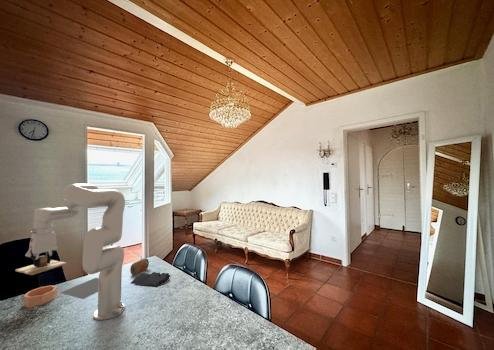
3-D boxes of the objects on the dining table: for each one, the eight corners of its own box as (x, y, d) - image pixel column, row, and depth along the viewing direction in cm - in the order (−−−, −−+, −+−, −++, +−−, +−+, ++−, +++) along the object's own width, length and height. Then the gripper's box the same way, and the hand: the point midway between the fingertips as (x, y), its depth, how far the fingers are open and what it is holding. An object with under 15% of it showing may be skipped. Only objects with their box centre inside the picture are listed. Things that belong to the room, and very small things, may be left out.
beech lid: (66, 264, 117) (67, 253, 117) (32, 275, 103) (32, 263, 103) (50, 260, 122) (50, 250, 122) (15, 271, 108) (15, 259, 108)
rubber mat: (117, 283, 131) (117, 282, 131) (83, 299, 112) (83, 298, 112) (95, 278, 138) (95, 277, 138) (59, 293, 119) (59, 292, 119)
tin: (132, 277, 139) (133, 264, 140) (129, 276, 140) (129, 264, 141) (149, 268, 154) (149, 256, 154) (145, 268, 155) (145, 256, 155)
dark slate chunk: (143, 275, 144) (143, 268, 144) (173, 277, 140) (173, 270, 140) (127, 285, 128) (127, 278, 129) (160, 288, 125) (160, 280, 125)
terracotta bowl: (61, 296, 115) (61, 287, 116) (32, 309, 104) (33, 298, 104) (47, 293, 120) (48, 284, 120) (19, 304, 108) (19, 294, 108)
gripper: (26, 234, 104) (25, 272, 104) (65, 228, 120) (64, 260, 119) (18, 233, 107) (17, 269, 106) (57, 227, 123) (56, 258, 122)
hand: (42, 264), depth 113 cm, fingers closed on beech lid, 4 cm apart
